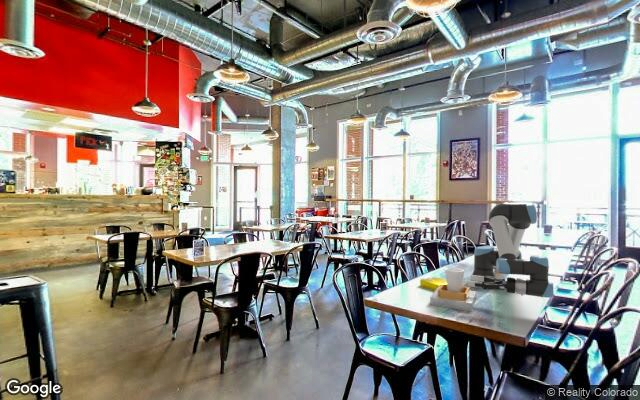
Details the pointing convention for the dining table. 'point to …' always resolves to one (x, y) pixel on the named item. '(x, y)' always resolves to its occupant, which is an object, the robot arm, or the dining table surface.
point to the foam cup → (454, 279)
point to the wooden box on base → (453, 298)
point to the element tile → (432, 283)
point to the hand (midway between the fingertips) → (469, 280)
